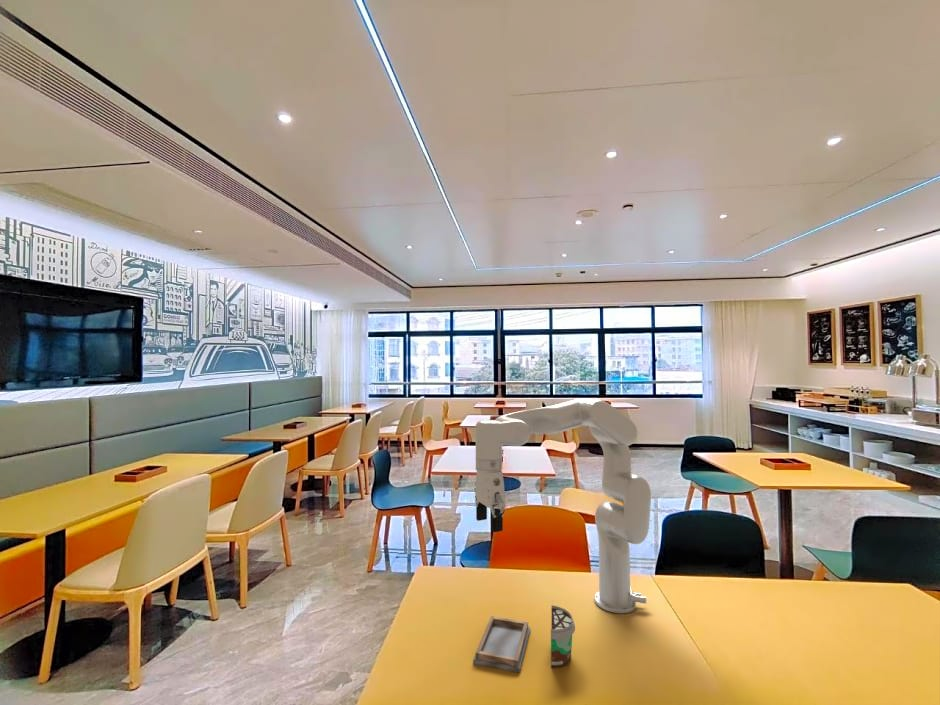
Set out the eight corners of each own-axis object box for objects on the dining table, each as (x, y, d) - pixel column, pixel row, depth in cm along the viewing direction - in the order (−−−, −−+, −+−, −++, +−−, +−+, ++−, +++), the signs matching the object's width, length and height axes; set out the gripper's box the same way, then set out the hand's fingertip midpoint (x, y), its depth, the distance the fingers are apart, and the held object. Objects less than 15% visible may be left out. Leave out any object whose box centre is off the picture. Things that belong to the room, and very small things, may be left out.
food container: (576, 675, 105) (576, 633, 105) (551, 671, 106) (550, 630, 107) (574, 643, 117) (574, 606, 118) (551, 641, 118) (551, 604, 119)
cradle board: (530, 630, 123) (530, 621, 123) (519, 672, 106) (519, 662, 106) (489, 623, 127) (489, 614, 127) (473, 663, 109) (473, 653, 109)
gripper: (515, 469, 115) (516, 534, 114) (487, 457, 131) (487, 514, 130) (490, 472, 112) (490, 538, 111) (464, 459, 128) (464, 517, 127)
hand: (489, 525), depth 121 cm, fingers open, 9 cm apart
